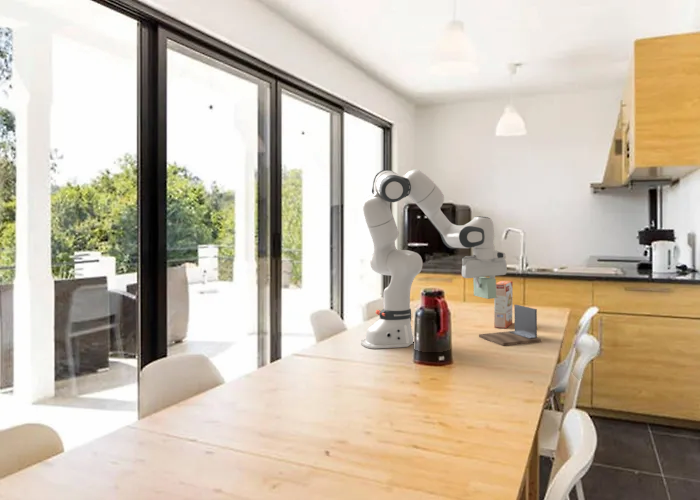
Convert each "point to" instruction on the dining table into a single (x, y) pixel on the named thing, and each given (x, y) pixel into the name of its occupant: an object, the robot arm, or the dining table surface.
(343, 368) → the dining table surface
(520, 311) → the bookend
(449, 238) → the robot arm
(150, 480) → the dining table surface
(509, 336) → the shelf board
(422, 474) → the dining table surface
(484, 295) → the pale green block
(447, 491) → the dining table surface
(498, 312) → the cracker box
